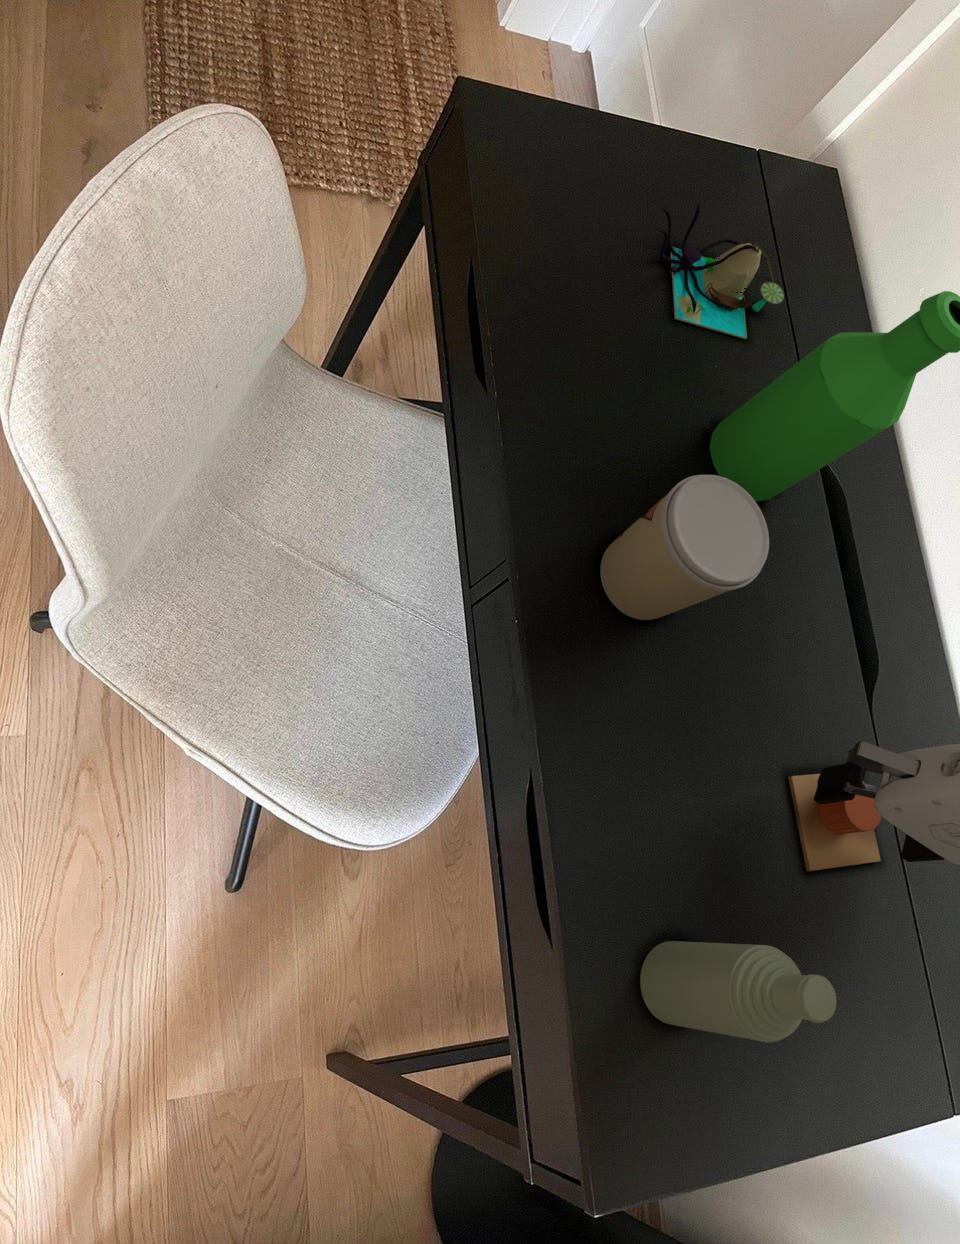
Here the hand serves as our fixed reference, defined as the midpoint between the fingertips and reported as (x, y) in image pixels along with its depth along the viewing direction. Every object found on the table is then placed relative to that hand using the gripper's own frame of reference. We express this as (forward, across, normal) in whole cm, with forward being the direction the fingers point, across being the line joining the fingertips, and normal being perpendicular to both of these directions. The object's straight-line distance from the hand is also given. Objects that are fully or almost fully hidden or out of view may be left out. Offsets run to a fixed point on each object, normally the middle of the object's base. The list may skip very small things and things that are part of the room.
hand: (864, 815), depth 78 cm
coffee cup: (+4, -26, +9) cm, 27 cm away
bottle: (+4, -20, +27) cm, 34 cm away
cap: (+3, 0, +1) cm, 3 cm away
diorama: (+4, -32, +44) cm, 54 cm away
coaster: (+4, 0, 0) cm, 4 cm away
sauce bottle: (+4, -10, -19) cm, 22 cm away
